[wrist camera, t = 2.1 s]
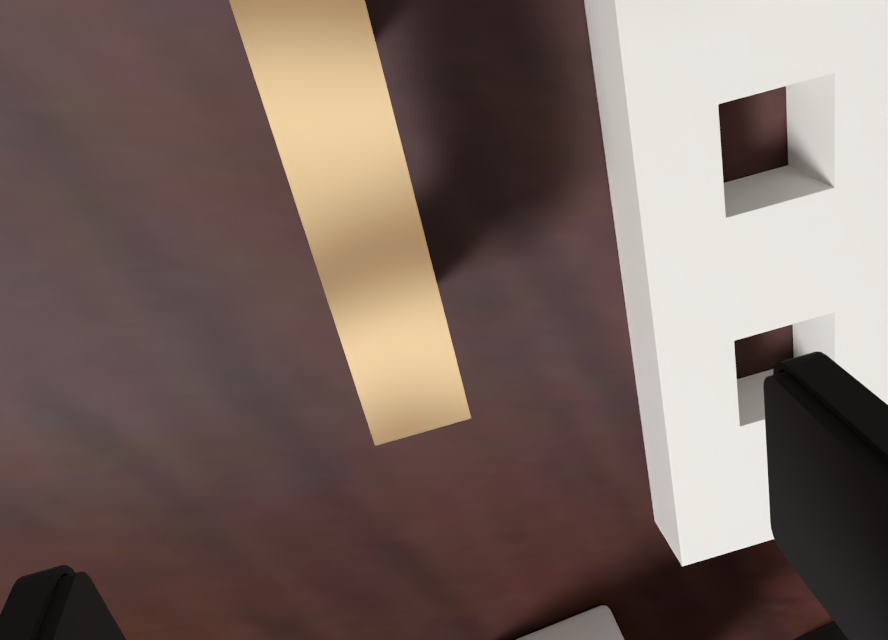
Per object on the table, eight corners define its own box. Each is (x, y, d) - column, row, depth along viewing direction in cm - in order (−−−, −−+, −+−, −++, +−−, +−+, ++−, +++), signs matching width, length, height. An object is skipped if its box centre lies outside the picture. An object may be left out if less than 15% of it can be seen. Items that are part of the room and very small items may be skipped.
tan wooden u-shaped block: (244, -25, 25) (227, -7, 18) (338, -49, 25) (354, -40, 19) (357, 334, 31) (375, 445, 24) (433, 313, 31) (471, 418, 25)
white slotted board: (571, -91, 26) (603, -93, 23) (866, -168, 26) (931, -178, 24) (654, 521, 38) (682, 566, 35) (857, 461, 38) (899, 501, 36)
